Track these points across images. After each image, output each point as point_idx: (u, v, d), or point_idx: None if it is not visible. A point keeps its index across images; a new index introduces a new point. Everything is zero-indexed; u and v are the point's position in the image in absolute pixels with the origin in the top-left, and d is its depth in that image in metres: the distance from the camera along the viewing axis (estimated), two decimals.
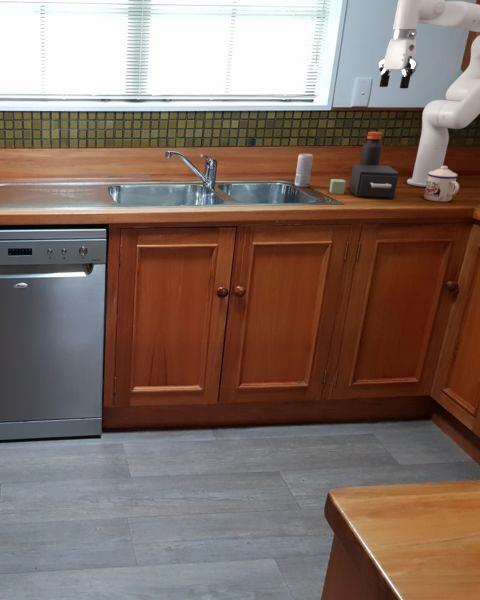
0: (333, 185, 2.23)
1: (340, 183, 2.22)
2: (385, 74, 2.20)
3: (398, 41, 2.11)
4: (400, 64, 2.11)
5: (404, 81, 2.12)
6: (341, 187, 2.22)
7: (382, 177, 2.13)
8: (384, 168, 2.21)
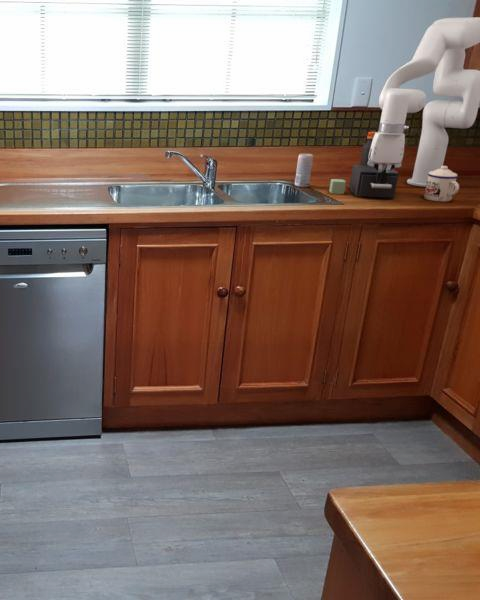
0: (333, 185, 2.23)
1: (340, 183, 2.22)
2: None
3: (394, 135, 2.02)
4: (397, 158, 2.05)
5: (385, 177, 2.09)
6: (341, 187, 2.22)
7: None
8: None
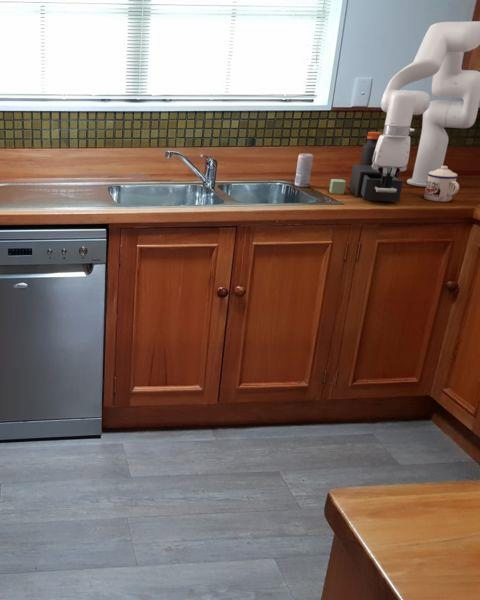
0: (333, 185, 2.23)
1: (340, 183, 2.22)
2: None
3: (400, 138, 1.96)
4: (403, 161, 1.99)
5: (390, 181, 2.03)
6: (341, 187, 2.22)
7: None
8: None
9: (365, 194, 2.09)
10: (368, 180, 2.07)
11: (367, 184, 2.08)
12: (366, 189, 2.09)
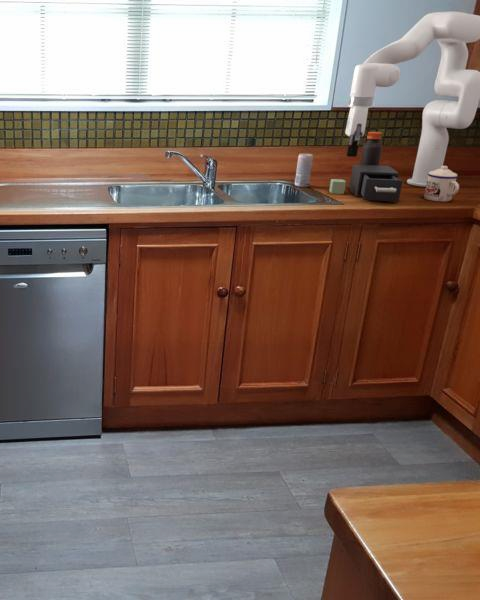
0: (333, 185, 2.23)
1: (340, 183, 2.22)
2: None
3: None
4: None
5: None
6: (341, 187, 2.22)
7: (387, 181, 2.06)
8: (384, 168, 2.21)
9: (365, 194, 2.10)
10: (368, 180, 2.08)
11: (367, 184, 2.08)
12: (366, 189, 2.09)
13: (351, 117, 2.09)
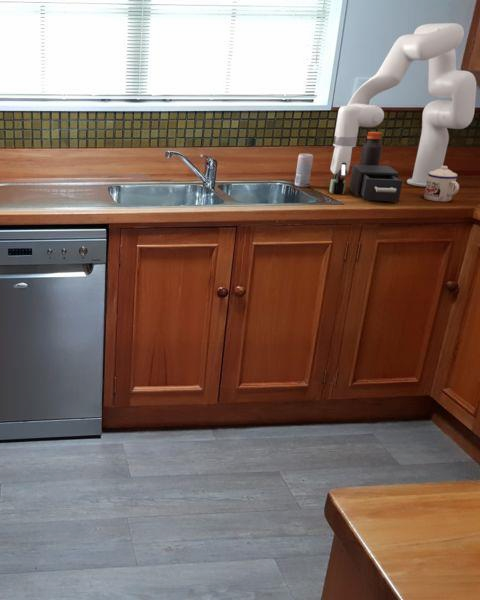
0: (333, 185, 2.23)
1: None
2: None
3: None
4: None
5: None
6: None
7: (387, 181, 2.06)
8: (384, 168, 2.21)
9: (365, 194, 2.10)
10: (368, 180, 2.08)
11: (367, 184, 2.08)
12: (366, 189, 2.09)
13: (336, 156, 2.18)
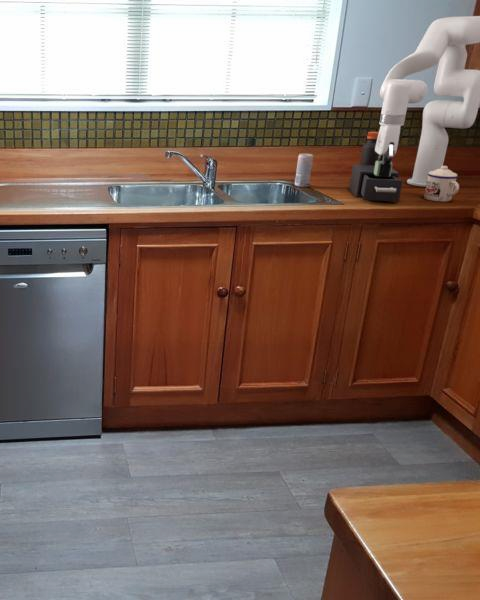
0: (379, 167, 2.08)
1: None
2: None
3: None
4: None
5: None
6: None
7: (387, 181, 2.06)
8: None
9: (365, 194, 2.10)
10: (368, 180, 2.08)
11: (367, 184, 2.08)
12: (366, 189, 2.09)
13: (383, 135, 2.04)
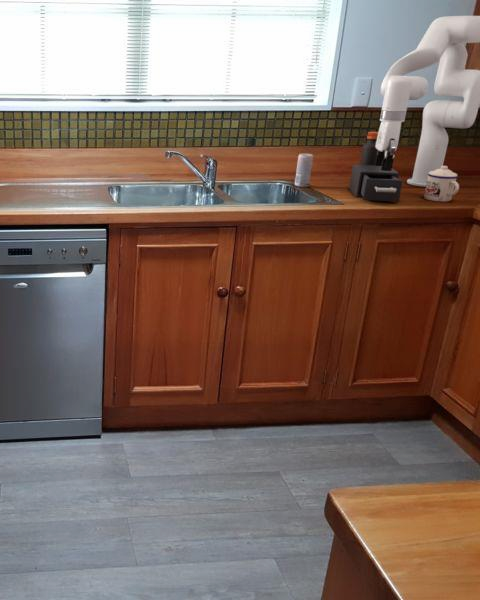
0: None
1: None
2: None
3: None
4: None
5: None
6: None
7: (387, 181, 2.06)
8: None
9: (365, 194, 2.10)
10: (368, 180, 2.08)
11: (367, 184, 2.08)
12: (366, 189, 2.09)
13: (383, 131, 2.03)
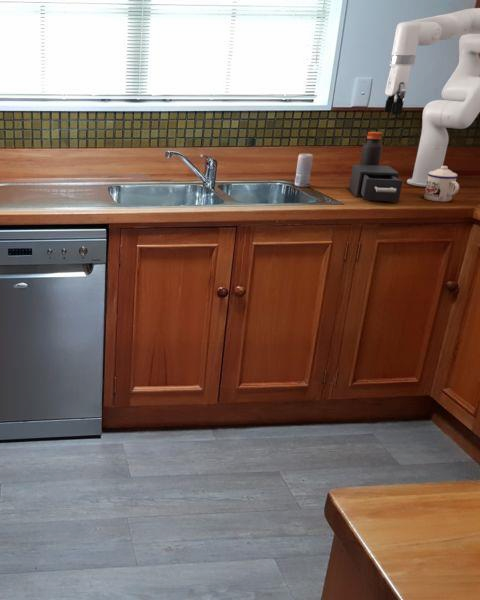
0: None
1: None
2: None
3: None
4: None
5: None
6: None
7: (387, 181, 2.06)
8: (384, 168, 2.21)
9: (365, 194, 2.10)
10: (368, 180, 2.08)
11: (367, 184, 2.08)
12: (366, 189, 2.09)
13: (393, 76, 2.08)
